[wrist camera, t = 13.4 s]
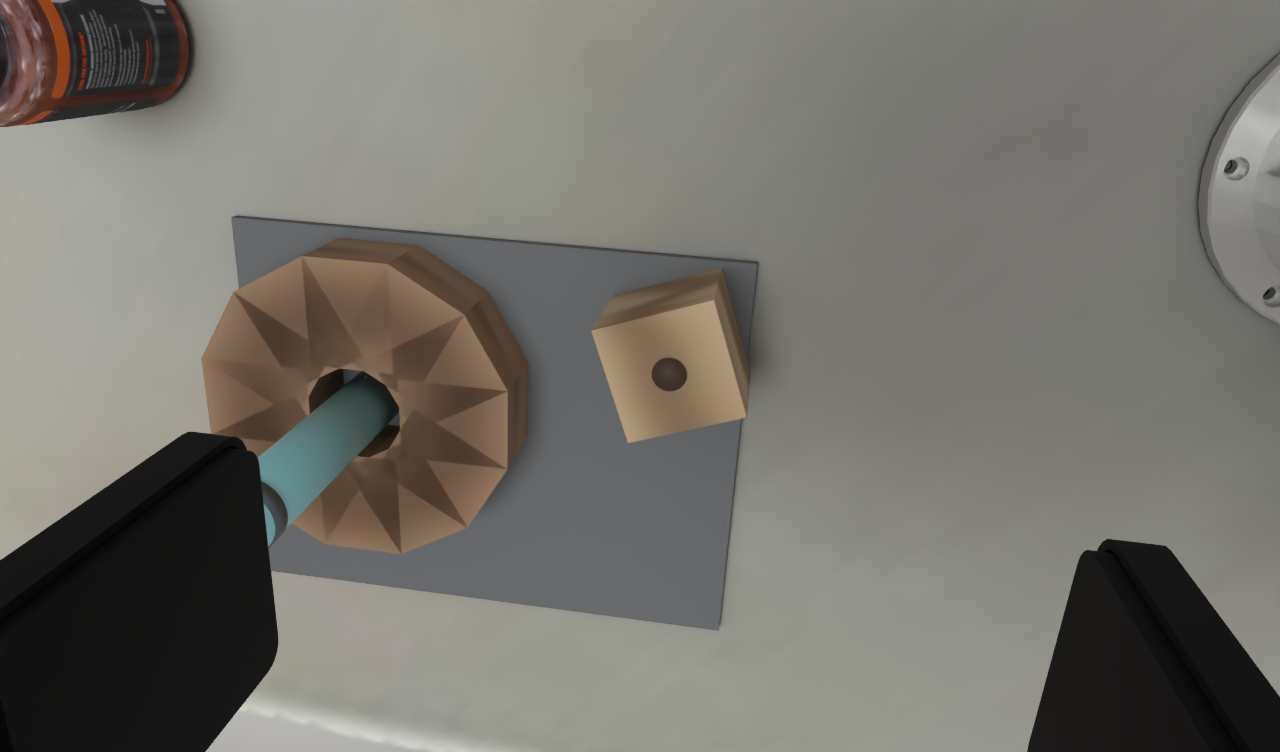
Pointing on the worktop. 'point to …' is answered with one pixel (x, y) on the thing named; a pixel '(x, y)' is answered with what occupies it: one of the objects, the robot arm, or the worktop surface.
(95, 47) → the supplement bottle
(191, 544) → the robot arm
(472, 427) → the faceted wooden ring
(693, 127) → the worktop surface
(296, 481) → the teal marker pen
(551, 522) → the felt mat
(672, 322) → the cube bead
